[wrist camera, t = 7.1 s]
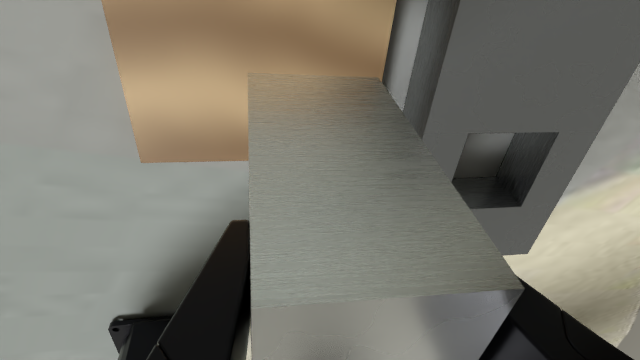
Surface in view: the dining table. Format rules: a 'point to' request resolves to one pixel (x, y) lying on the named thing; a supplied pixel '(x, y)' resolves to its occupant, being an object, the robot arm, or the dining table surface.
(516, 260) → the dining table surface
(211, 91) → the oak pad
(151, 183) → the dining table surface
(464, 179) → the rail
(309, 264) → the brushed metal block
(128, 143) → the dining table surface
